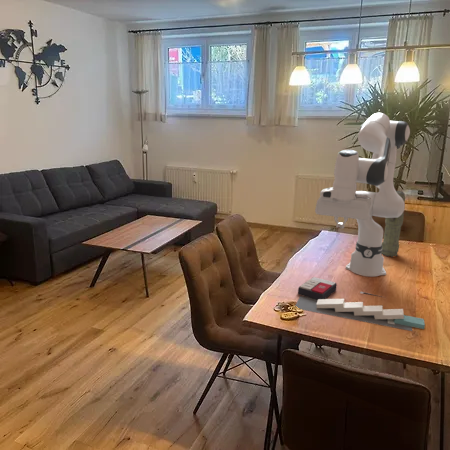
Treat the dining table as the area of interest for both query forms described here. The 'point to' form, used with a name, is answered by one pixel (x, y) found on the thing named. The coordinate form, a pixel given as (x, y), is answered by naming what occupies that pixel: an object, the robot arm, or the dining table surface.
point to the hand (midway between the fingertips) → (340, 227)
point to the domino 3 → (370, 310)
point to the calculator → (317, 288)
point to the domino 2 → (351, 307)
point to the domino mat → (346, 314)
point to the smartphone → (369, 294)
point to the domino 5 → (411, 322)
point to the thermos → (392, 233)
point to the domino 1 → (330, 303)
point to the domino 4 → (391, 314)
